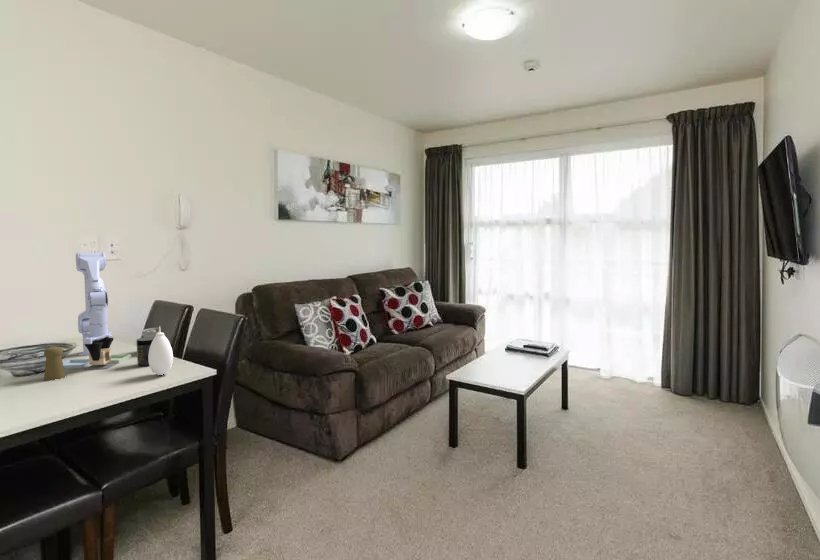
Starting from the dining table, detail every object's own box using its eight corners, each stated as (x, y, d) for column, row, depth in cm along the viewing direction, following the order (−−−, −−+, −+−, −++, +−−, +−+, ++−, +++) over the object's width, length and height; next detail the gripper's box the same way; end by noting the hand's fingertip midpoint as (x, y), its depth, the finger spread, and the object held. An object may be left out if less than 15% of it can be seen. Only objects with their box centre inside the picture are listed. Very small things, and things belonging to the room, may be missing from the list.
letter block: (97, 361, 174) (96, 348, 173) (111, 361, 174) (110, 348, 174) (89, 364, 169) (88, 351, 169) (104, 364, 169) (103, 351, 169)
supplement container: (151, 367, 172) (149, 340, 171) (133, 367, 172) (132, 340, 171) (160, 363, 179) (160, 337, 178) (144, 363, 179) (142, 337, 178)
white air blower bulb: (174, 376, 162) (172, 326, 160) (149, 379, 157) (147, 328, 156) (172, 370, 168) (171, 323, 167) (148, 373, 164) (146, 324, 163)
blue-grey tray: (70, 363, 178) (70, 359, 178) (96, 362, 179) (96, 358, 179) (54, 369, 168) (53, 365, 168) (81, 369, 169) (81, 365, 169)
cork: (53, 381, 154) (51, 349, 154) (39, 380, 156) (37, 348, 155) (70, 376, 160) (68, 345, 160) (56, 375, 162) (54, 344, 161)
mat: (94, 365, 175) (94, 363, 175) (116, 364, 176) (116, 363, 176) (83, 370, 168) (83, 368, 168) (106, 369, 169) (106, 368, 169)
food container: (144, 350, 200) (143, 328, 199) (159, 349, 202) (159, 327, 202) (140, 356, 189) (139, 333, 188) (157, 355, 191) (156, 332, 190)
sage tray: (106, 358, 185) (106, 354, 185) (131, 357, 186) (131, 354, 186) (93, 364, 176) (92, 360, 176) (119, 364, 177) (118, 360, 177)
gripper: (98, 326, 164) (100, 363, 165) (119, 320, 178) (121, 353, 179) (77, 326, 163) (79, 363, 164) (100, 320, 177) (102, 354, 178)
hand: (100, 358), depth 172 cm, fingers closed on letter block, 5 cm apart
